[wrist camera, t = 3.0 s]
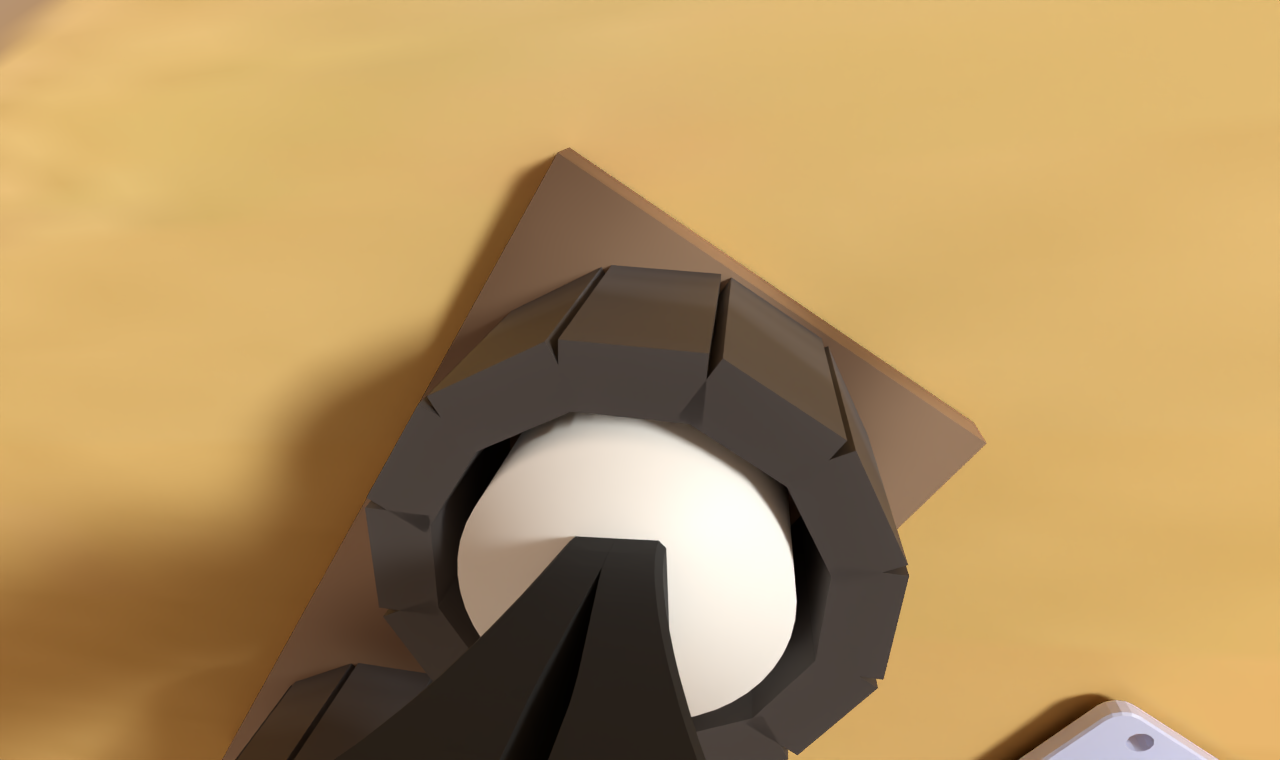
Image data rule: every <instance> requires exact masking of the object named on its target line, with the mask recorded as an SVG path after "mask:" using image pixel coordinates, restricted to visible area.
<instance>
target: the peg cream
mask: <svg viewBox="0 0 1280 760" xmlns="http://www.w3.org/2000/svg"><path fill="white" fill-rule="evenodd" d="M575 536H580V537H599V538H618V539H638V540H658V541H660V542H661V543H662V544H663V545H664V546H665V547H666V552H667V580H668V608H669V630H670V635H671V640H672V645H673V650H674V655H675V659H676V663H677V668H678V672H679V676H680V679H681V683H682V686H683V690H684V693H685V697H686V701H687V704H688V708H689V711H690V714H691V717H693V716H697V715H700V714H704V713H707V712H710V711H713V710H716V709H718V708H720V707H723V706H725V705H727V704H729V703H732V702H733V701H735V700H737V699H738V698H740V697H741V696H743V695H745V694H746V693H748V692H749V691H750V690H752V689H753V688H754V687H755V686H756V685H758V684H759V683H760V682H761V681H762V680H763V679H764V678H765V677H766V676H767V675H768V674H769V673H770V672H771V671H772V669H773V668H774V667H775V665H776V664H777V662H778V661H779V659H780V658H781V656H782V655H783V653H784V651H785V649H786V647H787V644H788V642H789V640H790V638H791V634H792V630H793V626H794V622H795V615H796V604H797V600H796V588H795V575H794V563H793V550H792V538H791V525H790V513H789V500H788V488H787V487H786V486H784V485H783V484H781V483H780V482H778V481H777V480H775V479H774V478H772V477H770V476H769V475H767V474H766V473H764V472H763V471H761V470H760V469H758V468H757V467H755V466H753V465H752V464H750V463H749V462H747V461H746V460H744V459H743V458H741V457H739V456H738V455H736V454H735V453H733V452H732V451H730V450H729V449H727V448H725V447H724V446H722V445H721V444H719V443H718V442H716V441H715V440H713V439H712V438H710V437H708V436H707V435H705V434H704V433H702V432H701V431H699V430H698V429H696V428H694V427H693V426H691V425H690V424H684V423H674V422H665V421H655V420H646V419H636V418H627V417H617V416H608V415H599V414H589V413H580V412H569V413H567V414H565V415H562V416H560V417H557V418H555V419H553V420H550V421H548V422H546V423H543V424H541V425H538V426H536V427H534V428H531V429H529V430H527V431H524V432H522V433H521V435H520V437H519V438H518V440H517V441H516V443H515V444H514V446H513V448H512V449H511V451H510V452H509V454H508V456H507V457H506V459H505V460H504V462H503V463H502V465H501V467H500V468H499V470H498V471H497V473H496V474H495V476H494V478H493V479H492V481H491V482H490V484H489V485H488V487H487V489H486V490H485V492H484V493H483V495H482V497H481V498H480V500H479V501H478V503H477V504H476V506H475V508H474V509H473V511H472V513H471V515H470V517H469V519H468V521H467V522H466V525H465V528H464V531H463V534H462V537H461V540H460V545H459V551H458V580H459V587H460V592H461V596H462V599H463V602H464V605H465V609H466V611H467V613H468V615H469V617H470V619H471V621H472V624H473V626H474V627H475V629H476V630H477V632H478V634H479V635H480V637H481V636H482V635H483V634H484V633H485V632H486V631H487V630H488V629H489V628H490V627H491V626H492V625H493V624H494V623H495V622H496V621H497V620H498V619H499V618H500V617H501V616H502V615H503V613H504V612H505V611H506V610H507V609H508V608H509V607H510V606H511V605H512V604H513V603H514V602H515V601H516V600H517V599H518V598H519V597H520V596H521V595H522V594H523V593H524V591H525V590H526V589H527V588H528V587H529V586H530V585H531V584H532V583H533V582H534V580H535V579H536V578H537V577H538V576H539V575H540V574H541V573H542V572H543V571H544V569H545V568H546V567H547V566H548V565H549V564H550V563H551V561H552V560H553V559H554V558H555V557H556V556H557V555H558V554H559V552H560V551H561V550H562V549H563V548H564V547H565V546H566V544H567V543H568V542H569V541H571V540H572V539H573V538H574V537H575Z"/></svg>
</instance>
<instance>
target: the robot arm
mask: <svg viewBox="0 0 1280 760" xmlns="http://www.w3.org/2000/svg"><path fill="white" fill-rule="evenodd" d="M1135 734H1136V735H1135ZM334 760H706V759H705V756H704V753H703V750H702V747H701V745H700V742H699V739H698V736H697V733H696V730H695V727H694V724H693V720H692V717H691V714H690V711H689V708H688V704H687V701H686V697H685V693H684V690H683V686H682V683H681V679H680V676H679V672H678V668H677V663H676V659H675V655H674V650H673V645H672V640H671V635H670V630H669V608H668V580H667V552H666V547H665V546H664V545H663V544H662V543H661V542H660V541H658V540H638V539H618V538H599V537H580V536H575V537H574V538H573V539H572V540H571V541H569V542H568V543H567V544H566V546H565V547H564V548H563V549H562V550H561V551H560V552H559V554H558V555H557V556H556V557H555V558H554V559H553V560H552V561H551V563H550V564H549V565H548V566H547V567H546V568H545V569H544V571H543V572H542V573H541V574H540V575H539V576H538V577H537V578H536V579H535V580H534V582H533V583H532V584H531V585H530V586H529V587H528V588H527V589H526V590H525V591H524V593H523V594H522V595H521V596H520V597H519V598H518V599H517V600H516V601H515V602H514V603H513V604H512V605H511V606H510V607H509V608H508V609H507V610H506V611H505V612H504V613H503V615H502V616H501V617H500V618H499V619H498V620H497V621H496V622H495V623H494V624H493V625H492V626H491V627H490V628H489V629H488V630H487V631H486V632H485V633H484V634H483V635H482V636H481V637H480V638H479V639H478V640H477V641H476V642H475V643H474V644H473V645H472V646H471V647H469V648H468V649H467V650H466V651H465V652H464V653H463V654H462V655H461V656H460V657H459V658H458V659H457V660H456V661H455V662H453V663H452V664H451V665H450V666H449V667H448V668H447V669H446V670H445V671H444V672H443V673H442V674H441V675H440V676H439V677H437V678H436V679H435V680H434V681H433V682H432V683H431V684H430V685H428V686H427V687H426V688H425V689H424V690H423V691H421V692H420V693H419V694H418V695H417V696H416V697H415V698H413V699H412V700H411V701H410V702H409V703H407V704H406V705H405V706H404V707H403V708H401V709H400V710H399V711H398V712H396V713H395V714H394V715H393V716H391V717H390V718H389V719H388V720H386V721H385V722H384V723H383V724H381V725H380V726H379V727H378V728H376V729H375V730H374V731H373V732H371V733H370V734H369V735H367V736H366V737H365V738H364V739H362V740H361V741H359V742H358V743H357V744H355V745H354V746H353V747H351V748H350V749H348V750H347V751H346V752H344V753H343V754H341V755H340V756H338V757H337V758H336V759H334ZM1019 760H1218V759H1217V758H1215V757H1214V756H1212V755H1211V754H1209V753H1208V752H1206V751H1204V750H1203V749H1201V748H1200V747H1198V746H1197V745H1195V744H1194V743H1192V742H1190V741H1189V740H1187V739H1186V738H1184V737H1183V736H1181V735H1180V734H1178V733H1177V732H1175V731H1173V730H1172V729H1170V728H1169V727H1167V726H1166V725H1164V724H1163V723H1161V722H1160V721H1158V720H1156V719H1155V718H1153V717H1152V716H1150V715H1149V714H1147V713H1146V712H1144V711H1142V710H1141V709H1139V708H1138V707H1136V706H1135V705H1133V704H1131V703H1128V702H1126V701H1118V700H1112V701H1106V702H1103V703H1101V704H1099V705H1097V706H1096V707H1094V708H1093V709H1091V710H1090V711H1088V712H1087V713H1085V714H1084V715H1082V716H1081V717H1080V718H1078V719H1077V720H1075V721H1074V722H1072V723H1071V724H1069V725H1068V726H1067V727H1065V728H1064V729H1062V730H1061V731H1059V732H1058V733H1056V734H1055V735H1053V736H1052V737H1051V738H1049V739H1048V740H1046V741H1045V742H1043V743H1042V744H1040V745H1039V746H1038V747H1036V748H1035V749H1033V750H1032V751H1030V752H1029V753H1027V754H1026V755H1024V756H1023V757H1022V758H1020V759H1019Z"/></svg>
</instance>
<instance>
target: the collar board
mask: <svg viewBox="0 0 1280 760" xmlns="http://www.w3.org/2000/svg"><path fill="white" fill-rule="evenodd" d="M569 412H580V413H589V414H599V415H608V416H617V417H627V418H636V419H646V420H655V421H665V422H674V423H684V424H690V425H691V426H693V427H694V428H696V429H698V430H699V431H701V432H702V433H704V434H705V435H707V436H708V437H710V438H712V439H713V440H715V441H716V442H718V443H719V444H721V445H722V446H724V447H725V448H727V449H729V450H730V451H732V452H733V453H735V454H736V455H738V456H739V457H741V458H743V459H744V460H746V461H747V462H749V463H750V464H752V465H753V466H755V467H757V468H758V469H760V470H761V471H763V472H764V473H766V474H767V475H769V476H770V477H772V478H774V479H775V480H777V481H778V482H780V483H781V484H783V485H784V486H786V487H787V488H788V500H789V513H790V525H791V538H792V550H793V563H794V575H795V588H796V600H797V604H796V615H795V622H794V626H793V630H792V634H791V638H790V640H789V642H788V644H787V647H786V649H785V651H784V653H783V655H782V656H781V658H780V659H779V661H778V662H777V664H776V665H775V667H774V668H773V669H772V671H771V672H770V673H769V674H768V675H767V676H766V677H765V678H764V679H763V680H762V681H761V682H760V683H759V684H758V685H756V686H755V687H754V688H753V689H752V690H750V691H749V692H748V693H746V694H745V695H743V696H741V697H740V698H738V699H737V700H735V701H733V702H732V703H729V704H727V705H725V706H723V707H720V708H718V709H716V710H713V711H710V712H707V713H704V714H700V715H697V716H693V717H692V720H693V724H694V727H695V730H696V733H697V736H698V739H699V742H700V745H701V747H702V750H703V753H704V756H705V759H706V760H788V750H790V751H791V752H793V753H795V754H796V755H798V754H799V753H801V752H802V751H803V750H804V749H805V748H807V747H808V746H809V745H810V744H811V743H813V742H814V741H815V740H816V739H817V738H819V737H820V736H821V735H822V734H823V733H825V732H826V731H827V730H828V729H829V728H831V727H832V726H833V725H834V724H835V723H837V722H838V721H839V720H840V719H841V718H843V717H844V716H845V715H846V714H847V713H848V712H850V711H851V710H852V709H853V708H854V707H856V706H857V705H858V704H859V703H860V702H862V701H863V700H864V699H865V698H866V697H868V696H869V695H870V694H871V693H872V692H874V691H875V690H876V689H877V688H878V687H877V682H876V679H884V675H885V671H886V667H887V663H888V659H889V655H890V650H891V646H892V642H893V638H894V634H895V630H896V626H897V622H898V618H899V614H900V610H901V606H902V602H903V598H904V594H905V590H906V586H907V582H908V578H909V574H908V571H907V568H906V565H908V563H907V560H906V557H905V554H904V551H903V547H902V544H901V541H900V538H899V534H898V531H897V529H898V528H899V527H900V526H901V525H902V524H903V523H904V522H905V521H906V520H907V519H908V518H909V517H910V516H911V515H912V514H913V513H914V512H915V511H916V510H917V509H919V508H920V507H921V506H922V505H923V504H924V503H925V502H926V501H927V500H928V499H929V498H930V497H931V496H932V495H933V494H934V493H935V492H936V491H937V490H938V489H939V488H940V487H941V486H943V485H944V484H945V483H946V482H947V481H948V480H949V479H950V478H951V477H952V476H953V475H954V474H955V473H956V472H957V471H958V470H959V469H960V468H961V467H962V466H963V465H964V464H965V463H966V462H968V461H969V460H970V459H971V458H972V457H973V456H974V455H975V454H976V453H977V452H978V451H979V450H980V449H981V448H982V447H983V446H984V445H985V444H986V441H985V440H984V438H983V437H982V435H981V433H980V432H979V430H978V428H977V427H976V425H975V424H974V422H972V421H971V420H969V419H968V418H966V417H965V416H963V415H962V414H960V413H959V412H957V411H956V410H955V409H953V408H952V407H950V406H949V405H947V404H946V403H944V402H943V401H941V400H940V399H938V398H937V397H935V396H934V395H932V394H931V393H930V392H928V391H927V390H925V389H924V388H922V387H921V386H919V385H918V384H916V383H915V382H913V381H912V380H910V379H909V378H907V377H906V376H904V375H903V374H902V373H900V372H899V371H897V370H896V369H894V368H893V367H891V366H890V365H888V364H887V363H885V362H884V361H882V360H881V359H879V358H878V357H877V356H875V355H874V354H872V353H871V352H869V351H868V350H866V349H865V348H863V347H862V346H860V345H859V344H857V343H856V342H854V341H853V340H852V339H850V338H849V337H847V336H846V335H844V334H843V333H841V332H840V331H838V330H837V329H835V328H834V327H832V326H831V325H829V324H828V323H827V322H825V321H824V320H822V319H821V318H819V317H818V316H816V315H815V314H813V313H812V312H810V311H809V310H807V309H806V308H804V307H803V306H802V305H800V304H799V303H797V302H796V301H794V300H793V299H791V298H790V297H788V296H787V295H785V294H784V293H782V292H781V291H779V290H778V289H777V288H775V287H774V286H772V285H771V284H769V283H768V282H766V281H765V280H763V279H762V278H760V277H759V276H757V275H756V274H754V273H753V272H751V271H750V270H749V269H747V268H746V267H744V266H743V265H741V264H740V263H738V262H737V261H735V260H734V259H732V258H731V257H729V256H728V255H726V254H725V253H724V252H722V251H721V250H719V249H718V248H716V247H715V246H713V245H712V244H710V243H709V242H707V241H706V240H704V239H703V238H701V237H700V236H699V235H697V234H696V233H694V232H693V231H691V230H690V229H688V228H687V227H685V226H684V225H682V224H681V223H679V222H678V221H676V220H675V219H674V218H672V217H671V216H669V215H668V214H666V213H665V212H663V211H662V210H660V209H659V208H657V207H656V206H654V205H653V204H651V203H650V202H649V201H647V200H646V199H644V198H643V197H641V196H640V195H638V194H637V193H635V192H634V191H632V190H631V189H629V188H628V187H626V186H625V185H623V184H622V183H621V182H619V181H618V180H616V179H615V178H613V177H612V176H610V175H609V174H607V173H606V172H604V171H603V170H601V169H600V168H598V167H597V166H596V165H594V164H593V163H591V162H590V161H588V160H587V159H585V158H584V157H582V156H581V155H579V154H578V153H576V152H575V151H573V150H572V149H571V148H567V149H565V150H563V151H560V152H558V153H557V155H556V157H555V158H554V160H553V162H552V164H551V166H550V168H549V169H548V171H547V173H546V175H545V177H544V178H543V180H542V182H541V184H540V186H539V187H538V189H537V191H536V193H535V195H534V196H533V198H532V200H531V202H530V204H529V206H528V207H527V209H526V211H525V213H524V215H523V216H522V218H521V220H520V222H519V224H518V225H517V227H516V229H515V231H514V233H513V234H512V236H511V238H510V240H509V242H508V244H507V245H506V247H505V249H504V251H503V253H502V254H501V256H500V258H499V260H498V262H497V263H496V265H495V267H494V269H493V271H492V272H491V274H490V276H489V278H488V280H487V281H486V283H485V285H484V287H483V289H482V291H481V292H480V294H479V296H478V298H477V300H476V301H475V303H474V305H473V307H472V309H471V310H470V312H469V314H468V316H467V318H466V319H465V321H464V323H463V325H462V327H461V329H460V330H459V332H458V334H457V336H456V338H455V339H454V341H453V343H452V345H451V347H450V348H449V350H448V352H447V354H446V356H445V357H444V359H443V361H442V363H441V365H440V367H439V368H438V370H437V372H436V374H435V376H434V377H433V379H432V381H431V383H430V385H429V386H428V388H427V390H426V392H425V394H424V395H423V397H422V399H421V401H420V403H419V404H418V405H417V407H416V409H415V411H414V413H413V415H412V416H411V418H410V420H409V422H408V424H407V425H406V427H405V429H404V431H403V433H402V434H401V436H400V438H399V440H398V442H397V443H396V445H395V447H394V449H393V451H392V453H391V454H390V456H389V458H388V460H387V462H386V463H385V465H384V467H383V469H382V471H381V472H380V474H379V476H378V478H377V480H376V481H375V483H374V485H373V487H372V489H371V491H370V492H369V494H368V496H367V499H366V500H365V502H364V504H363V506H362V508H361V509H360V511H359V513H358V515H357V517H356V518H355V520H354V522H353V524H352V526H351V528H350V529H349V531H348V533H347V535H346V537H345V538H344V540H343V542H342V544H341V546H340V547H339V549H338V551H337V553H336V555H335V556H334V558H333V560H332V562H331V564H330V566H329V567H328V569H327V571H326V573H325V575H324V576H323V578H322V580H321V582H320V584H319V585H318V587H317V589H316V591H315V593H314V594H313V596H312V598H311V600H310V602H309V604H308V605H307V607H306V609H305V611H304V613H303V614H302V616H301V618H300V620H299V622H298V623H297V625H296V627H295V629H294V631H293V632H292V634H291V636H290V638H289V640H288V642H287V643H286V645H285V647H284V649H283V651H282V652H281V654H280V656H279V658H278V660H277V661H276V663H275V665H274V667H273V669H272V670H271V672H270V674H269V676H268V678H267V680H266V681H265V683H264V685H263V687H262V689H261V690H260V692H259V694H258V696H257V698H256V699H255V701H254V703H253V705H252V707H251V708H250V710H249V712H248V714H247V716H246V717H245V719H244V721H243V723H242V725H241V727H240V728H239V730H238V732H237V734H236V736H235V737H234V739H233V741H232V743H231V745H230V746H229V748H228V750H227V752H226V754H225V755H224V757H223V759H222V760H334V759H336V758H337V757H338V756H340V755H341V754H343V753H344V752H346V751H347V750H348V749H350V748H351V747H353V746H354V745H355V744H357V743H358V742H359V741H361V740H362V739H364V738H365V737H366V736H367V735H369V734H370V733H371V732H373V731H374V730H375V729H376V728H378V727H379V726H380V725H381V724H383V723H384V722H385V721H386V720H388V719H389V718H390V717H391V716H393V715H394V714H395V713H396V712H398V711H399V710H400V709H401V708H403V707H404V706H405V705H406V704H407V703H409V702H410V701H411V700H412V699H413V698H415V697H416V696H417V695H418V694H419V693H420V692H421V691H423V690H424V689H425V688H426V687H427V686H428V685H430V684H431V683H432V682H433V681H434V680H435V679H436V678H437V677H439V676H440V675H441V674H442V673H443V672H444V671H445V670H446V669H447V668H448V667H449V666H450V665H451V664H452V663H453V662H455V661H456V660H457V659H458V658H459V657H460V656H461V655H462V654H463V653H464V652H465V651H466V650H467V649H468V648H469V647H471V646H472V645H473V644H474V643H475V642H476V641H477V640H478V639H479V638H480V635H479V634H478V632H477V630H476V629H475V627H474V626H473V624H472V621H471V619H470V617H469V615H468V613H467V611H466V609H465V605H464V602H463V599H462V596H461V592H460V587H459V580H458V551H459V545H460V540H461V537H462V534H463V531H464V528H465V525H466V522H467V521H468V519H469V517H470V515H471V513H472V511H473V509H474V508H475V506H476V504H477V503H478V501H479V500H480V498H481V497H482V495H483V493H484V492H485V490H486V489H487V487H488V485H489V484H490V482H491V481H492V479H493V478H494V476H495V474H496V473H497V471H498V470H499V468H500V467H501V465H502V463H503V462H504V460H505V459H506V457H507V456H508V454H509V452H510V451H511V449H512V448H513V446H514V444H515V443H516V441H517V440H518V438H519V437H520V435H521V433H522V432H524V431H527V430H529V429H531V428H534V427H536V426H538V425H541V424H543V423H546V422H548V421H550V420H553V419H555V418H557V417H560V416H562V415H565V414H567V413H569Z"/></svg>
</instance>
